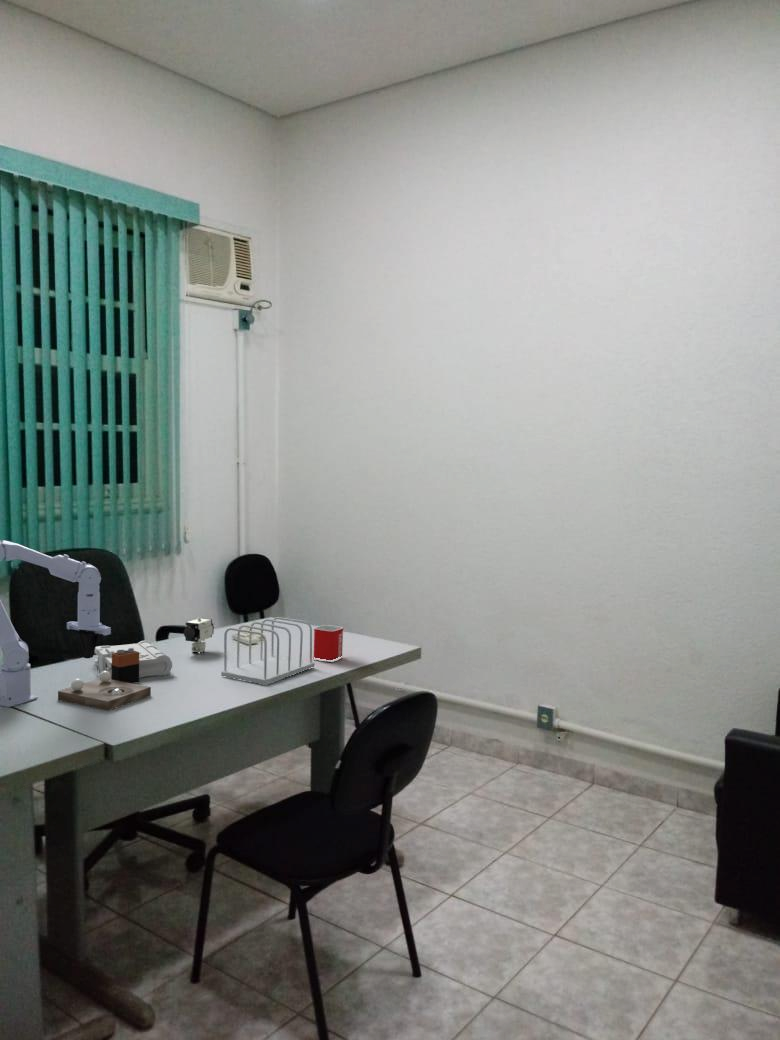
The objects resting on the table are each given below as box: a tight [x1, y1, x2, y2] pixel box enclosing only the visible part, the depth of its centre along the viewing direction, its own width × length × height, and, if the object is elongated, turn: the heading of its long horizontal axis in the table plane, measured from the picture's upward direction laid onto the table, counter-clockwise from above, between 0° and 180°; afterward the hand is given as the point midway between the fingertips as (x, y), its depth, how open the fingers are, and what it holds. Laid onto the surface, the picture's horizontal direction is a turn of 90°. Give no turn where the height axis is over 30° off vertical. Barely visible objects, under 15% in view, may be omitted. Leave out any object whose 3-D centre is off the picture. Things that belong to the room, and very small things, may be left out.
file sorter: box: [220, 616, 315, 686], centre depth 259 cm, size 25×17×16 cm
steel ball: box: [111, 689, 122, 694], centre depth 225 cm, size 3×3×3 cm
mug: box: [313, 624, 344, 660], centre depth 280 cm, size 12×8×11 cm
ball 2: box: [98, 671, 111, 682], centre depth 234 cm, size 3×3×3 cm
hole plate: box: [57, 678, 152, 712], centre depth 227 cm, size 16×18×2 cm
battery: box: [112, 648, 140, 684], centre depth 242 cm, size 4×7×10 cm, turn 141°
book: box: [94, 640, 173, 679], centre depth 259 cm, size 19×28×8 cm
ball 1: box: [70, 678, 85, 691], centre depth 225 cm, size 3×3×3 cm
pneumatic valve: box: [183, 616, 215, 653], centre depth 281 cm, size 6×12×12 cm, turn 160°
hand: (88, 657), depth 229 cm, fingers closed
